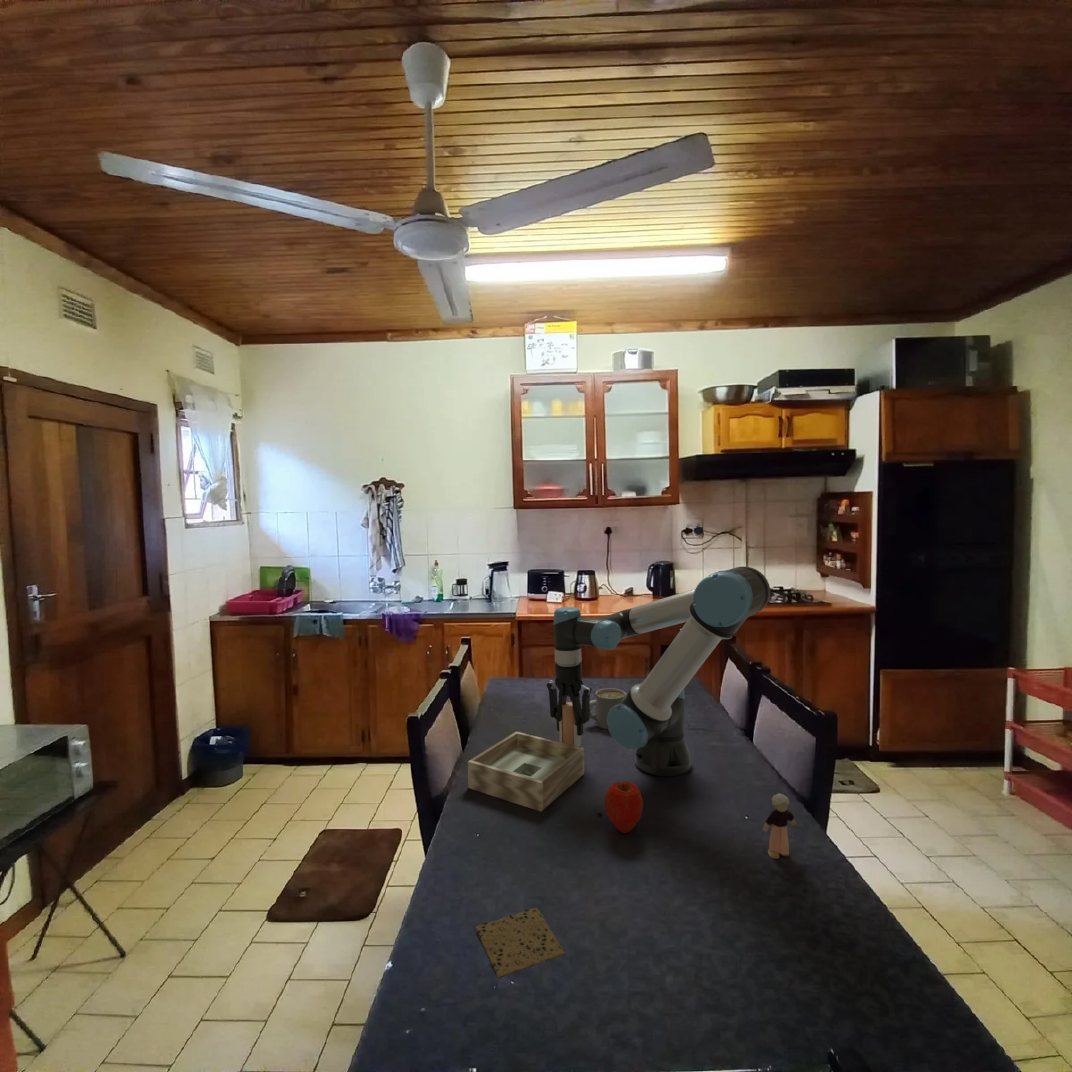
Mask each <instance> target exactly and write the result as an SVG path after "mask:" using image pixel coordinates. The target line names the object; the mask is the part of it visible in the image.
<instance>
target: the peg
mask: <svg viewBox="0 0 1072 1072" xmlns="http://www.w3.org/2000/svg"><path fill="white" fill-rule="evenodd" d="M562 714H563V743H565V744H569V745H573V746H574V724H575V723H576V720H575V715H574V710H573V705H572V701H570V702H569V701H568V702H567V701H566V703H564V704H563V705H562Z"/></svg>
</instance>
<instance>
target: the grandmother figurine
mask: <svg viewBox="0 0 1072 1072" xmlns="http://www.w3.org/2000/svg"><path fill="white" fill-rule="evenodd" d="M771 801H772V802H771V804H772V805H773V807H774V810H772V812H771V813H770V814H769V815H768V817H767V819H766V820H765V822H764V826H763V827H762V831H763V832H764V833H767V832H768V831H769V828H770V827H771V832H770V835H769V845H768V850H767V853H768V855H769V857H770V858H771V859H774V860H775V859H779V858H780V855H781V856H783V857H788V856H790V849H789V848H790V847H789V835H788V833H789V832H788V821H789V822H790V825H791V826H796V825H797V822H796V820H795V816H794V815H793V813H792V812H791V811H789V810H787V809H788V805H789V804H790V799H789V797H787V796H786V795H784V794H782V793H779V792H778V793H777V794H774V795H773V796H772V797H771Z"/></svg>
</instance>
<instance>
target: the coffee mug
mask: <svg viewBox="0 0 1072 1072" xmlns="http://www.w3.org/2000/svg"><path fill="white" fill-rule="evenodd" d="M594 694H595V697H594V698H595V699H592V700H590V719H591V720H595V725H596V726H597V727H599V728H602V729H605V730H609V729H608V728H609V727H608V725H607V715H608V712H609V710H610V709H611V708H612V707H613V706H614V705H616V704H619V703H620V702H621V701H622V700H623V699H624V698H625V696H626V695H627V693H626V692H625V691H624V690H622V689H619V688H612V687H610V688H601V689H598V690H596V691H595V693H594ZM593 706H595V712H594V713H591V709H592V708H593Z"/></svg>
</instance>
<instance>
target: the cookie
mask: <svg viewBox="0 0 1072 1072" xmlns="http://www.w3.org/2000/svg"><path fill="white" fill-rule="evenodd" d="M475 933H476V934H477V936H478V938H479V941H480V942H481V945H482V947H483V949H484V951H485V953H486V955H487V958H488V960H489V962H490V966H491V967H492V969H493V972H494V973H495V976H496V978H497V979H500V978H503V977H506V976H509V975H512V974H514V973H517V972H520V971H523V970H525V969H527V968H530V967H533V966H536V965H539V964H543V963H546V962H547V961H551V960H553V959H556V958H558V957H562V956H565V955H566V953H565V951H564V947H563V946H562V945H561V944H560V942H559V941H558V938H557V937H556V936H555V935H554V933H553V931H552V929H551V928H550V926H549V924H548V923H547V920H546V919H545V916H544V914H542V913H541V912H540V910H539V909H538V907H533V908H530V909H525V910H524V911H519V912H518V913H515V914H511V915H509V916H505V917H502V918H500V919H496V920H492V921H490V922H484V923H483V924H478V925H476V926H475Z"/></svg>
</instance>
